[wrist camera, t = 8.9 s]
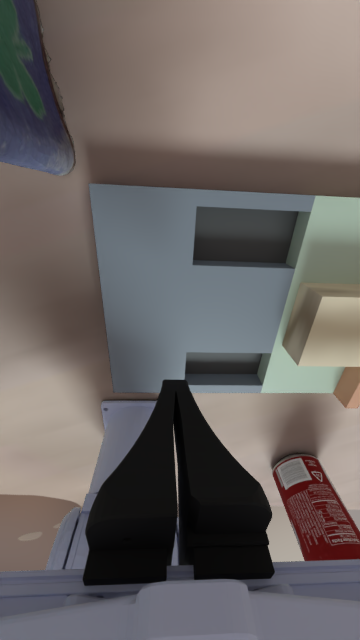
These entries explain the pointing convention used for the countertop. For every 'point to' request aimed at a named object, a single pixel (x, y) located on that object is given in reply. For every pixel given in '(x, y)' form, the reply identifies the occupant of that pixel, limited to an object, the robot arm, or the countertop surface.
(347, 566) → the robot arm
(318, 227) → the trap deck
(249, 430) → the countertop surface
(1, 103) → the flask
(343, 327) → the birch block
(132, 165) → the countertop surface
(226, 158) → the countertop surface
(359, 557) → the soda can
